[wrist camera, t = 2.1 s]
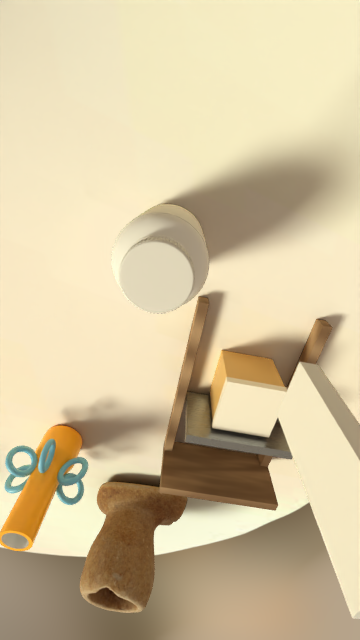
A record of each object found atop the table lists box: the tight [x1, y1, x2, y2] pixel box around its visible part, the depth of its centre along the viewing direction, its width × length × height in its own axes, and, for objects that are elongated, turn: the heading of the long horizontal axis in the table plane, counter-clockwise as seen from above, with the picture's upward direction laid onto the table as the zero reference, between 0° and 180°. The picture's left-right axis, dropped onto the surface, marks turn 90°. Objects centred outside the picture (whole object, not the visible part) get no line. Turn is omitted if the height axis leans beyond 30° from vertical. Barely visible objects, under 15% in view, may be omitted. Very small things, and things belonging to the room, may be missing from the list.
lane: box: [159, 296, 332, 510], centre depth 39 cm, size 26×16×8 cm, turn 169°
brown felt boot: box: [80, 482, 187, 613], centre depth 47 cm, size 15×12×15 cm
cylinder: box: [0, 425, 88, 551], centre depth 41 cm, size 12×10×15 cm
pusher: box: [185, 391, 293, 459], centre depth 40 cm, size 1×13×8 cm, turn 80°
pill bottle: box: [112, 204, 209, 314], centre depth 27 cm, size 8×8×15 cm
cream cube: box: [210, 350, 287, 438], centre depth 39 cm, size 7×7×7 cm
